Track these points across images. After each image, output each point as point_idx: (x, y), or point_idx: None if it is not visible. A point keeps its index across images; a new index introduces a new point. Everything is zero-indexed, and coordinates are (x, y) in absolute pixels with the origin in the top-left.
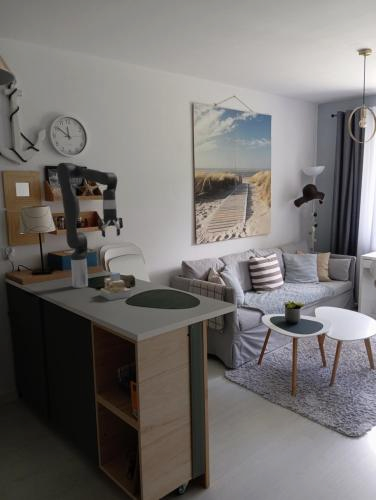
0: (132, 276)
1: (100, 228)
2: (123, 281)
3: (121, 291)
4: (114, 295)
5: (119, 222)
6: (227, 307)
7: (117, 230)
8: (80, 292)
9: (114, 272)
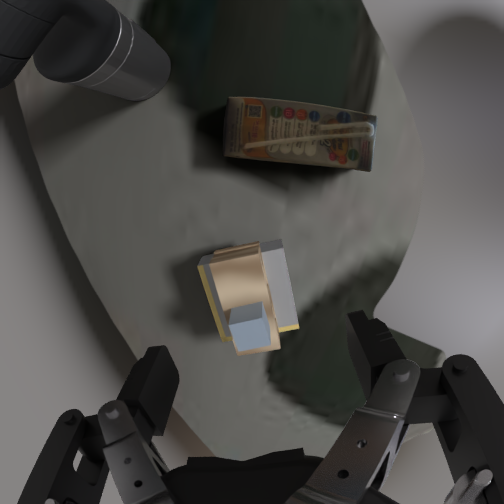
0: (366, 148)
1: (101, 460)
2: (277, 348)
3: None
4: None
5: (468, 454)
6: (424, 432)
7: (366, 386)
8: (133, 175)
9: (250, 321)
